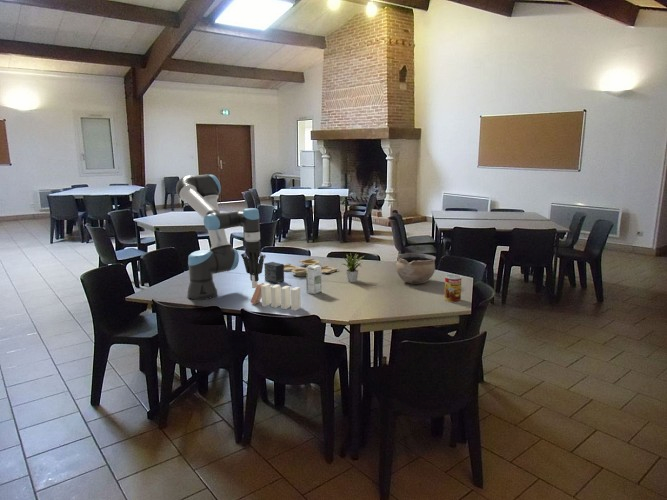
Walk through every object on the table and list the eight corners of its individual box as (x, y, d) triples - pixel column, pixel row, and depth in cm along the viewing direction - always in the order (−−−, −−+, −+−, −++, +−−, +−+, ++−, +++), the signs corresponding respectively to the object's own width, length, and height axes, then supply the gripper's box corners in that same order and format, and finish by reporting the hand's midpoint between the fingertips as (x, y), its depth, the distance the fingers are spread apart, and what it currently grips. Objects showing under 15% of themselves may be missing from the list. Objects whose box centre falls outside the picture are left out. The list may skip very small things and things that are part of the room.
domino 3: (271, 307, 241) (270, 287, 239) (276, 304, 245) (276, 284, 243) (275, 307, 240) (275, 287, 238) (281, 304, 244) (280, 285, 242)
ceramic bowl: (387, 282, 280) (387, 256, 276) (409, 275, 295) (410, 250, 292) (421, 290, 265) (421, 262, 262) (442, 281, 280) (443, 255, 277)
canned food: (450, 303, 242) (451, 279, 240) (441, 299, 249) (441, 275, 247) (463, 301, 245) (464, 277, 243) (454, 296, 252) (454, 274, 250)
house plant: (363, 285, 275) (363, 256, 271) (338, 284, 277) (338, 255, 274) (366, 278, 288) (366, 251, 285) (343, 277, 291) (342, 250, 288)
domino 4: (281, 308, 238) (280, 288, 236) (286, 305, 243) (285, 285, 241) (285, 309, 237) (285, 288, 235) (290, 305, 242) (290, 286, 240)
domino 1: (250, 301, 245) (257, 285, 242) (255, 299, 250) (262, 282, 246) (254, 304, 245) (260, 288, 241) (259, 301, 249) (266, 285, 246)
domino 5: (291, 309, 236) (290, 289, 234) (296, 306, 241) (295, 286, 238) (295, 310, 235) (295, 290, 233) (300, 307, 240) (300, 287, 238)
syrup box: (313, 290, 267) (312, 263, 264) (321, 292, 264) (321, 265, 261) (306, 292, 263) (305, 266, 260) (314, 294, 259) (314, 267, 256)
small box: (285, 281, 285) (284, 264, 283) (276, 284, 280) (275, 266, 278) (273, 278, 292) (272, 261, 290) (264, 280, 287) (263, 263, 285)
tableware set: (342, 272, 304) (341, 266, 304) (300, 280, 288) (300, 273, 288) (311, 262, 333) (311, 256, 332) (272, 268, 317) (272, 262, 316)
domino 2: (261, 305, 243) (261, 285, 241) (267, 302, 247) (266, 283, 245) (266, 306, 242) (265, 286, 240) (271, 303, 246) (270, 283, 244)
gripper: (236, 240, 240) (239, 288, 245) (259, 242, 235) (261, 290, 239) (245, 238, 247) (248, 284, 251) (268, 239, 241) (270, 286, 246)
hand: (254, 287), depth 245 cm, fingers closed
